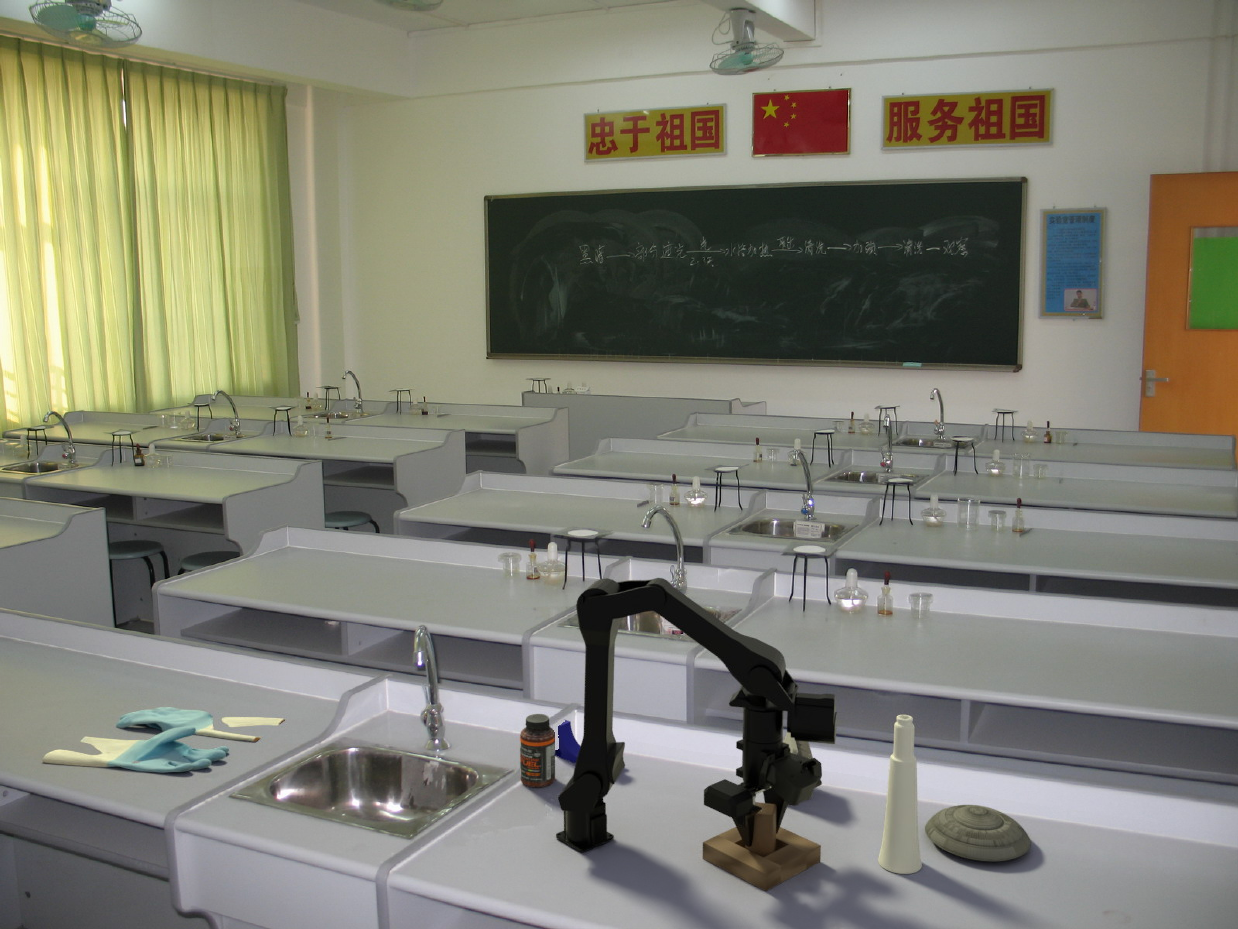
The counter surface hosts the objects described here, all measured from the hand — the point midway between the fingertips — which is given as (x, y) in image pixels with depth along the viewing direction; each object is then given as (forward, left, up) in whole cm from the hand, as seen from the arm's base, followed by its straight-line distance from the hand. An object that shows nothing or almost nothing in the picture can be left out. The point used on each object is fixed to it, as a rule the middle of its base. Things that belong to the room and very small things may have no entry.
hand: (761, 839), depth 154 cm
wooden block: (0, 0, -3) cm, 3 cm away
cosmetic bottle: (+14, +14, -3) cm, 20 cm away
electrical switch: (-12, +21, -3) cm, 24 cm away
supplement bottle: (-43, -8, -3) cm, 44 cm away
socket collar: (0, 0, -3) cm, 3 cm away
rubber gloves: (-104, -48, -4) cm, 114 cm away
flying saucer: (+18, +28, -4) cm, 34 cm away
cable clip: (-44, +4, -4) cm, 45 cm away
